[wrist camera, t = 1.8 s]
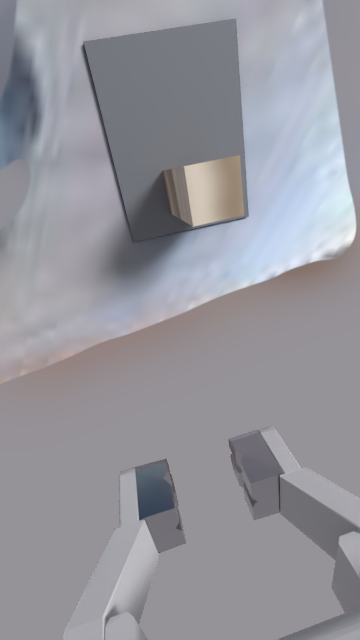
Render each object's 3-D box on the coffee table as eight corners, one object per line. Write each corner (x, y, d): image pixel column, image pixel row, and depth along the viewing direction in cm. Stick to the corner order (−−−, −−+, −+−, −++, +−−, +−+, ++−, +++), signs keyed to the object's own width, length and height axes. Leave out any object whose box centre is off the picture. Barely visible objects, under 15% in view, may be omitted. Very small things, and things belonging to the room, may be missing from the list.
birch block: (170, 213, 37) (193, 226, 27) (162, 170, 35) (184, 166, 24) (207, 205, 38) (244, 215, 27) (202, 162, 36) (239, 155, 25)
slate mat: (133, 241, 38) (133, 242, 38) (83, 43, 29) (83, 41, 29) (247, 216, 40) (248, 216, 40) (234, 20, 31) (235, 18, 30)
